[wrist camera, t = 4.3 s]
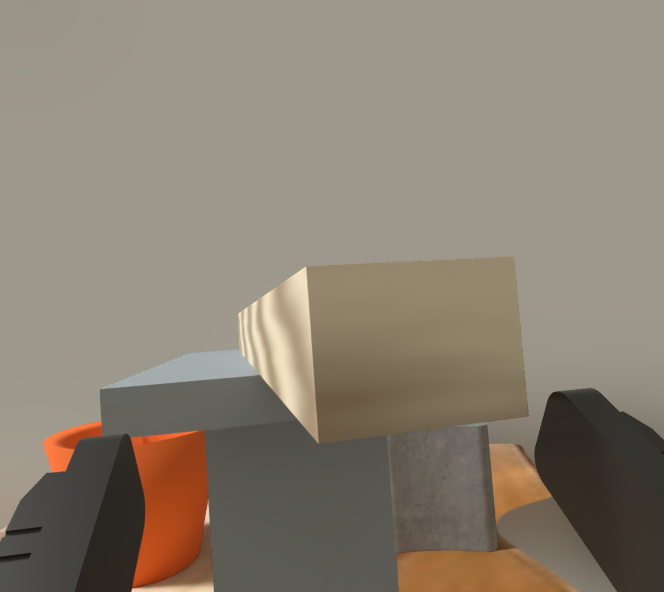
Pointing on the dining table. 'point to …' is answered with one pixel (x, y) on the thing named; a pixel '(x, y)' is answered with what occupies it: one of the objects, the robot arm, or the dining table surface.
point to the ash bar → (391, 346)
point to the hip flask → (442, 489)
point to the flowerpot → (157, 495)
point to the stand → (268, 479)
